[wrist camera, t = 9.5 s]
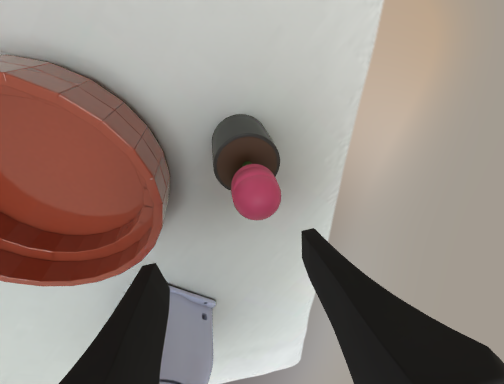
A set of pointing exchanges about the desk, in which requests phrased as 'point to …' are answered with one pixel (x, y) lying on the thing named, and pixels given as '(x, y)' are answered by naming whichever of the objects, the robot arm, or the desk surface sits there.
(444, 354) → the robot arm
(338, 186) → the desk surface
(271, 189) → the tulip
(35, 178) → the bowl
